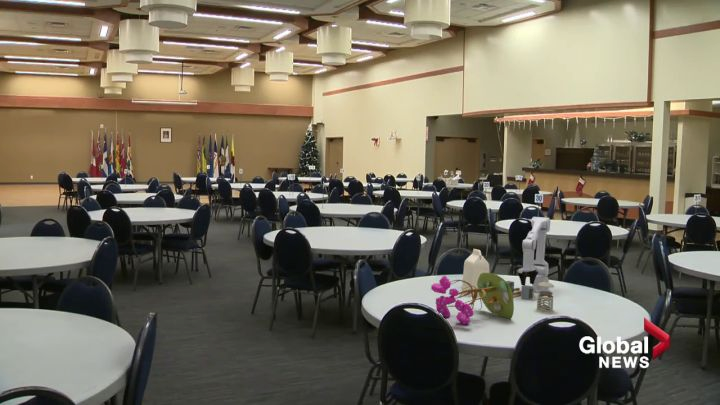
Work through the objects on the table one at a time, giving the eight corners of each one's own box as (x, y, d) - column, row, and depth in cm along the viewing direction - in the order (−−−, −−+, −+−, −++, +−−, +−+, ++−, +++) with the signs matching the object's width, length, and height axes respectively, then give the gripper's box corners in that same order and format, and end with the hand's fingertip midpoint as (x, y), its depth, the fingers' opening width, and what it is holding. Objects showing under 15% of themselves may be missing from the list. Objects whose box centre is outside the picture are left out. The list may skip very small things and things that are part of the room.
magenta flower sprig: (510, 259, 310) (450, 275, 294) (525, 318, 307) (465, 337, 291) (474, 265, 336) (417, 280, 321) (487, 319, 334) (431, 336, 318)
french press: (551, 314, 327) (553, 265, 325) (529, 311, 333) (531, 263, 331) (557, 310, 335) (559, 263, 333) (534, 307, 341) (536, 260, 339)
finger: (525, 297, 365) (526, 285, 365) (533, 299, 361) (534, 286, 360) (521, 298, 363) (521, 286, 362) (529, 300, 358) (529, 287, 358)
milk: (461, 293, 374) (463, 248, 372) (479, 291, 377) (480, 247, 375) (471, 297, 363) (472, 251, 360) (489, 296, 366) (491, 251, 364)
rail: (517, 291, 381) (517, 277, 381) (530, 294, 373) (531, 280, 373) (496, 294, 370) (497, 281, 370) (510, 298, 363) (510, 284, 362)
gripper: (525, 262, 353) (524, 287, 354) (542, 260, 361) (541, 284, 363) (515, 260, 358) (514, 285, 359) (532, 258, 367) (531, 282, 368)
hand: (527, 284), depth 361 cm, fingers open, 7 cm apart
